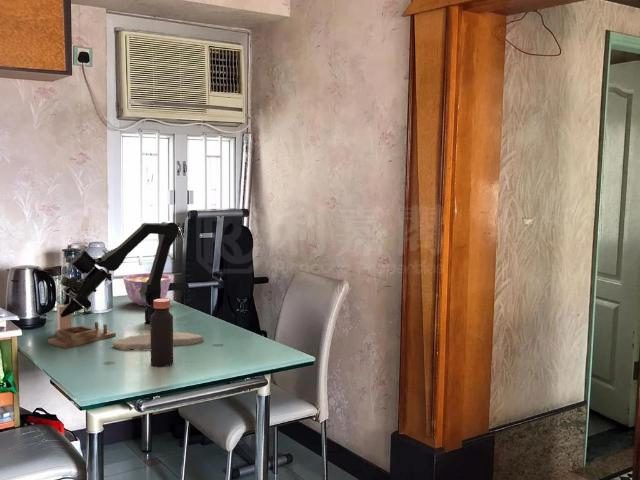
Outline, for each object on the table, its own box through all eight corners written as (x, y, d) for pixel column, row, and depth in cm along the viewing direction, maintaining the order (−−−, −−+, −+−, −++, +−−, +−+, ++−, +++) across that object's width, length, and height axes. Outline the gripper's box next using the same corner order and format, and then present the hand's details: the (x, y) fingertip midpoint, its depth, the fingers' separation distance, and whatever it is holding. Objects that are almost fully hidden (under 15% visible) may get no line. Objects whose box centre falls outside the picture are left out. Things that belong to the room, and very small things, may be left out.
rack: (98, 331, 243) (98, 320, 242) (115, 336, 237) (115, 324, 237) (47, 342, 227) (47, 330, 226) (65, 348, 221) (64, 335, 220)
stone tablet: (206, 343, 232) (206, 336, 232) (119, 354, 217) (119, 347, 216) (189, 332, 246) (189, 326, 246) (106, 342, 231) (106, 335, 230)
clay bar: (69, 330, 243) (68, 303, 241) (71, 333, 239) (71, 306, 238) (57, 332, 240) (56, 304, 239) (59, 334, 237) (59, 307, 236)
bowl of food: (136, 310, 276) (136, 283, 275) (115, 302, 291) (115, 276, 290) (179, 304, 289) (179, 278, 288) (157, 297, 304) (157, 271, 303)
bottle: (147, 362, 207) (146, 299, 205) (167, 359, 211) (167, 296, 209) (156, 368, 202) (155, 303, 199) (177, 364, 206) (176, 300, 204)
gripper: (68, 264, 247) (37, 296, 242) (81, 271, 231) (48, 306, 227) (90, 283, 252) (60, 315, 248) (104, 292, 237) (72, 326, 232)
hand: (60, 315), depth 238 cm, fingers closed on clay bar, 4 cm apart
